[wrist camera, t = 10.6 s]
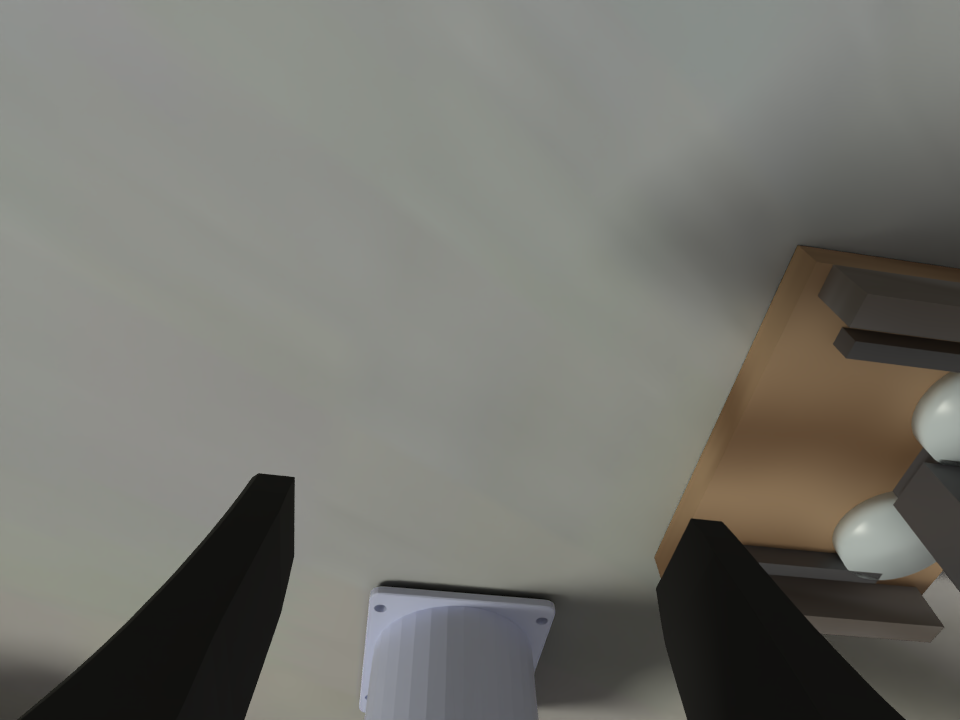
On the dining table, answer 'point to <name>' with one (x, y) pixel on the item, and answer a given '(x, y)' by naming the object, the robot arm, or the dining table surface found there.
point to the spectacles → (918, 495)
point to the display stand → (825, 431)
